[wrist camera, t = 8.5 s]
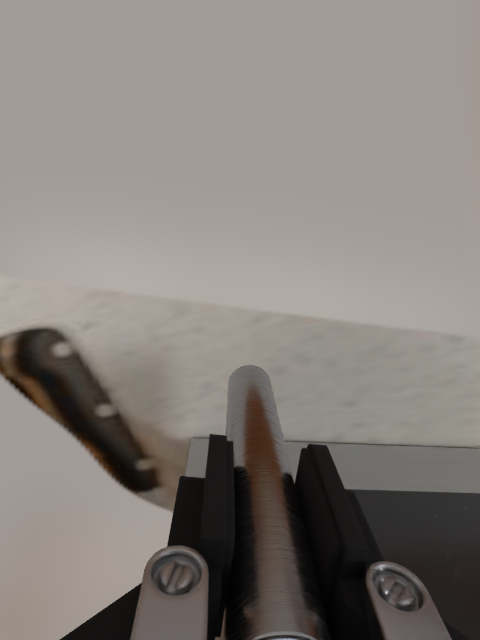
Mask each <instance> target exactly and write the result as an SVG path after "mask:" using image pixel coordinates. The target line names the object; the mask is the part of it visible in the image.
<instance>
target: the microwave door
mask: <svg viewBox="0 0 480 640" xmlns="http://www.w3.org/2000/svg"><path fill="white" fill-rule="evenodd" d="M225 436H227V441H233V445H234V498H235V543H234V552H233V558H232V565H231V572H230V578H229V585H228V591H227V598H226V605H225V612H224V618H223V625H222V632H221V637H220V638H219V637H215V640H331V639H330V634H329V630H328V626H327V622H326V617H325V613H324V609H323V604H322V600H321V596H320V592H319V587H318V583H317V579H316V574H315V570H314V566H313V562H312V557H311V553H310V549H309V545H308V540H307V536H306V532H305V527H304V523H303V519H302V515H301V510H300V506H299V502H298V497H297V493H296V489H295V485H294V484H295V479H296V474H297V468H298V463H299V458H300V453H301V449H302V448H307V446H308V444H319V445H326V446H327V447H328V449H329V451H330V454H331V456H332V459H333V461H334V463H335V466H336V468H337V471H338V473H339V476H340V478H341V481H342V483H343V485H344V488H345V490H347V491H352V492H354V493H355V495H356V497H357V499H358V502H359V504H360V506H361V508H362V511H363V513H364V515H365V518H366V520H367V522H368V524H369V527H370V529H371V531H372V534H373V536H374V538H375V540H376V543H377V545H378V547H379V550H380V552H381V554H382V556H383V559H384V561H388V562H392V563H396V564H398V565H400V566H403V567H405V568H406V569H408V570H409V571H411V572H412V573H414V574H415V575H416V576H417V577H418V578H419V579H420V580H421V581H422V583H423V584H424V586H425V587H426V589H427V590H428V592H429V594H430V596H431V598H432V600H433V602H434V604H435V606H436V608H437V610H438V612H439V614H440V616H441V619H443V620H444V621H446V622H447V623H448V624H450V625H451V626H452V627H454V628H455V629H457V630H458V631H459V632H461V633H462V634H463V635H465V636H466V637H468V638H469V639H470V640H480V449H474V448H446V447H419V446H391V445H364V444H337V443H309V442H284V437H283V433H282V429H281V425H280V420H279V416H278V412H277V407H276V403H275V399H274V395H273V390H272V386H271V382H270V378H269V376H268V374H267V373H266V372H265V371H264V370H263V369H261V368H260V367H257V366H253V365H247V366H242V367H240V368H238V369H237V370H235V371H234V372H233V373H232V375H231V376H230V378H229V382H228V397H227V415H226V433H225ZM208 446H209V439H199V438H191V439H190V445H189V451H188V457H187V463H186V469H185V475H184V476H188V477H199V478H205V472H206V463H207V455H208Z"/></svg>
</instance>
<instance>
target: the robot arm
mask: <svg viewBox="0 0 480 640" xmlns="http://www.w3.org/2000/svg"><path fill="white" fill-rule="evenodd" d="M294 485H295V489H296V493H297V497H298V502H299V506H300V510H301V515H302V519H303V523H304V527H305V532H306V536H307V540H308V545H309V549H310V553H311V557H312V562H313V566H314V570H315V574H316V579H317V583H318V587H319V592H320V596H321V600H322V604H323V609H324V613H325V617H326V622H327V626H328V630H329V634H330V639H331V640H470V639H469V638H468V637H466V636H465V635H463V634H462V633H461V632H459V631H458V630H457V629H455V628H454V627H452V626H451V625H450V624H448V623H447V622H446V621H444V620H443V619H441V616H440V614H439V612H438V610H437V608H436V606H435V604H434V602H433V600H432V598H431V596H430V594H429V592H428V590H427V589H426V587H425V586H424V584H423V583H422V581H421V580H420V579H419V578H418V577H417V576H416V575H415V574H414V573H412V572H411V571H409V570H408V569H406V568H405V567H403V566H400V565H398V564H396V563H392V562H388V561H384V559H383V556H382V554H381V552H380V550H379V547H378V545H377V543H376V540H375V538H374V536H373V534H372V531H371V529H370V527H369V524H368V522H367V520H366V518H365V515H364V513H363V511H362V508H361V506H360V504H359V502H358V499H357V497H356V495H355V493H354V492H352V491H347V490H345V488H344V485H343V483H342V481H341V478H340V476H339V473H338V471H337V468H336V466H335V463H334V461H333V459H332V456H331V454H330V451H329V449H328V447H327V446H326V445H319V444H308V446H307V448H302V449H301V453H300V458H299V463H298V468H297V474H296V479H295V484H294ZM234 543H235V498H234V445H233V441H227V436H223V435H213V434H210V438H209V446H208V455H207V463H206V472H205V478H199V477H188V476H180V479H179V485H178V490H177V496H176V501H175V507H174V512H173V518H172V523H171V529H170V534H169V540H168V546H167V547H166V548H163V549H161V550H159V551H158V552H156V553H155V554H154V555H153V556H152V557H151V558H150V560H149V561H148V563H147V565H146V568H145V570H144V575H143V580H142V583H141V584H139V585H138V586H136V587H135V588H134V589H132V590H131V591H129V592H128V593H126V594H125V595H124V596H122V597H121V598H119V599H118V600H116V601H115V602H114V603H112V604H111V605H109V606H108V607H106V608H105V609H103V610H102V611H100V612H99V613H98V614H96V615H95V616H93V617H92V618H90V619H89V620H87V621H86V622H85V623H83V624H82V625H80V626H79V627H77V628H76V629H75V630H73V631H72V632H70V633H69V634H67V635H66V636H64V637H63V638H62V639H60V640H215V637H219V638H220V637H221V632H222V625H223V618H224V612H225V605H226V598H227V591H228V585H229V578H230V572H231V565H232V558H233V552H234Z"/></svg>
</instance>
